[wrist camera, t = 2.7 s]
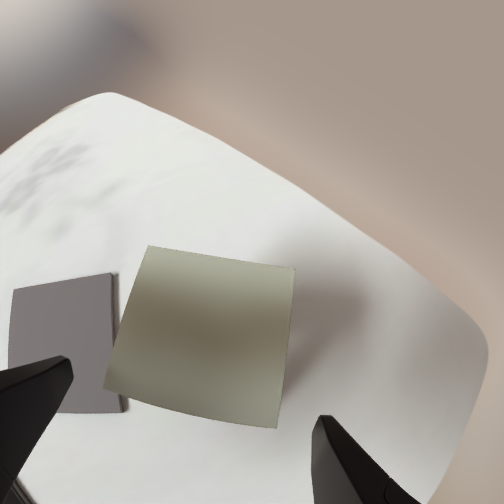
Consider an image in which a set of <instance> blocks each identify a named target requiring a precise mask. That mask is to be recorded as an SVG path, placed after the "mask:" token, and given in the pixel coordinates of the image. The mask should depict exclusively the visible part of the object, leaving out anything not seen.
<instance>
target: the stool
mask: <svg viewBox="0 0 504 504" xmlns="http://www.w3.org/2000/svg"><path fill="white" fill-rule="evenodd" d="M294 276H295V269H291V268H284V267H278V266H272V265H265V264H259V263H253V262H246V261H240V260H234V259H228V258H222V257H215V256H209V255H203V254H197V253H191V252H185V251H179V250H173V249H167V248H161V247H155V246H149V245H148V247H147V250H146V252H145V255H144V258H143V260H142V263H141V265H140V268H139V271H138V274H137V276H136V279H135V282H134V285H133V287H132V290H131V293H130V296H129V299H128V302H127V305H126V308H125V311H124V314H123V317H122V320H121V323H120V327H119V330H118V333H117V336H116V340H115V343H114V347H113V350H112V354H111V357H110V361H109V365H108V368H107V372H106V376H105V380H104V384H103V389H106V390H109V391H111V392H114V393H117V394H120V395H123V396H126V397H128V398H132V399H135V400H138V401H141V402H144V403H147V404H151V405H154V406H158V407H161V408H165V409H169V410H173V411H177V412H181V413H185V414H189V415H193V416H198V417H203V418H208V419H213V420H218V421H223V422H229V423H235V424H242V425H249V426H256V427H265V428H274V429H277V423H278V417H279V410H280V402H281V395H282V388H283V380H284V372H285V364H286V356H287V347H288V338H289V329H290V319H291V309H292V299H293V288H294Z"/></svg>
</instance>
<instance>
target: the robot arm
mask: <svg viewBox="0 0 504 504" xmlns="http://www.w3.org/2000/svg"><path fill="white" fill-rule="evenodd" d="M73 379H74V374H73V369H72V364H71V361H70V359H69V358H67V357H65V356H63V355H59V356H55V357H51V358H48V359H44V360H41V361H37V362H33V363H30V364H26V365H22V366H18V367H14V368H10V369H7V370H3V371H0V504H3V502H4V500H5V498H6V496H7V494H8V492H9V490H10V489H11V487H12V485H13V483H14V481H15V479H16V477H17V476H18V474H19V472H20V470H21V469H22V467H23V465H24V463H25V462H26V460H27V458H28V457H29V455H30V453H31V452H32V450H33V448H34V447H35V445H36V443H37V442H38V440H39V439H40V437H41V435H42V434H43V432H44V431H45V429H46V427H47V426H48V424H49V423H50V421H51V420H52V418H53V417H54V415H55V414H56V412H57V410H58V409H59V407H60V405H61V403H62V401H63V399H64V397H65V395H66V393H67V391H68V390H69V388H70V386H71V384H72V382H73ZM311 476H312V485H313V495H314V504H421V503H420V502H418V501H417V500H416V499H414V498H413V497H412V496H410V495H409V494H408V493H407V492H406V491H405V490H403V489H402V488H401V487H400V486H399V485H398V484H397V483H396V482H395V481H394V480H393V479H392V478H390V476H389V475H388V474H387V473H386V472H385V471H384V470H383V469H382V468H381V467H380V466H379V465H378V464H377V463H376V462H375V461H374V460H373V459H372V458H371V457H370V456H369V455H368V454H367V453H366V452H365V451H364V449H363V448H362V447H361V446H360V445H359V444H358V443H357V442H356V441H355V440H354V439H353V438H352V437H351V436H350V435H349V433H348V432H347V431H346V430H345V429H344V428H343V427H342V426H341V425H340V424H339V423H338V422H337V420H336V419H335V418H334V417H333V416H331V415H320V416H319V417H318V420H317V422H316V424H315V427H314V429H313V432H312V455H311Z"/></svg>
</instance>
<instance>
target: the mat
mask: <svg viewBox="0 0 504 504" xmlns="http://www.w3.org/2000/svg"><path fill="white" fill-rule="evenodd" d="M114 343H115V336H114V317H113V275H112V274H111V273H106V274H100V275H94V276H88V277H82V278H77V279H71V280H65V281H59V282H54V283H48V284H42V285H36V286H31V287H25V288H19V289H14V291H13V299H12V307H11V316H10V327H9V344H8V369H10V368H14V367H18V366H22V365H26V364H30V363H33V362H37V361H41V360H44V359H48V358H51V357H55V356H59V355H63V356H65V357H67V358H69V359H70V361H71V364H72V369H73V374H74V379H73V382H72V384H71V386H70V388H69V390H68V391H67V393H66V395H65V397H64V399H63V401H62V403H61V405H60V407H59V409H58V410H57V412H56V413H123V408H122V402H121V395H120V394H117V393H114V392H111V391H109V390H106V389H103V384H104V380H105V376H106V372H107V368H108V365H109V361H110V357H111V354H112V350H113V347H114Z"/></svg>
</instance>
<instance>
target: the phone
mask: <svg viewBox="0 0 504 504" xmlns="http://www.w3.org/2000/svg"><path fill="white" fill-rule="evenodd" d="M3 504H32V503H31V502H30V500H29V499H28V498H27V496H26V495H25V494H24V492H23V491H22V489H21V488H20V486H19V485H18V483H17V482H16V480H15V481H14V483H13V485H12V487H11V489H10V490H9V492H8V494H7V496H6V498H5V500H4V502H3Z"/></svg>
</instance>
